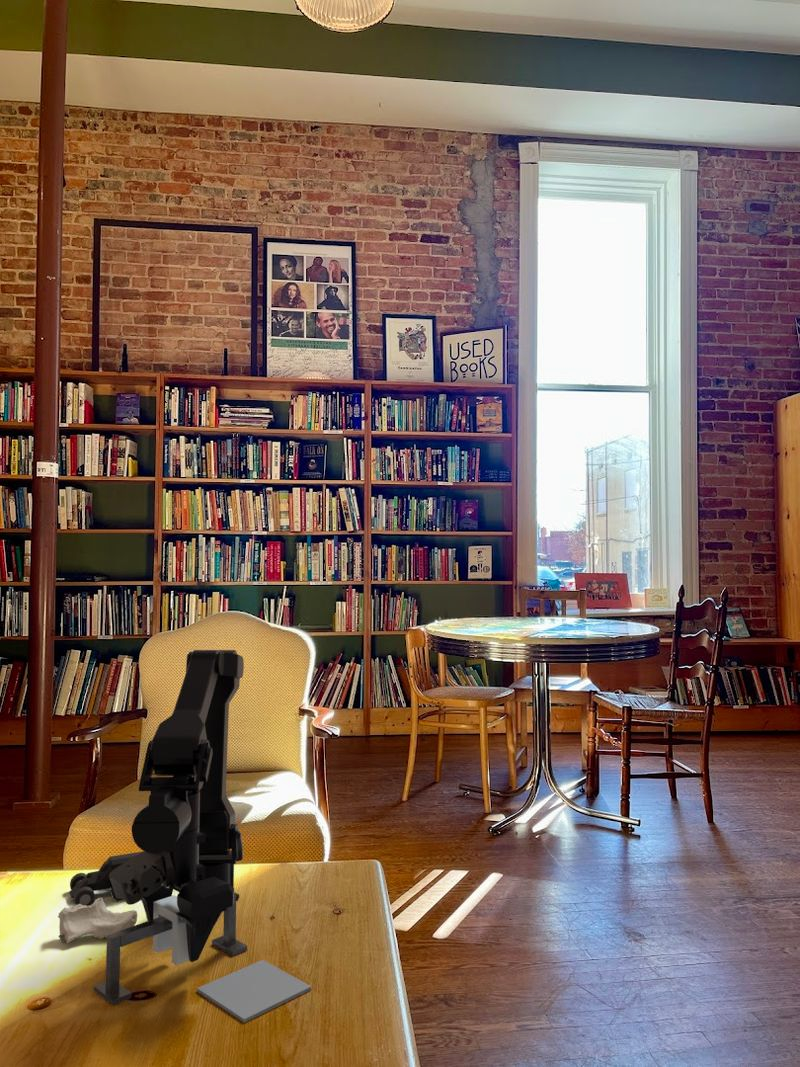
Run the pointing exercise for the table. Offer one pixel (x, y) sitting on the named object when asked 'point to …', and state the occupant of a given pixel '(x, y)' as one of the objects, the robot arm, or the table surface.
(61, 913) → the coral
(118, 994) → the stand
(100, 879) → the toy vehicle
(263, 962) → the mat
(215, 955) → the table surface
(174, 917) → the c link
